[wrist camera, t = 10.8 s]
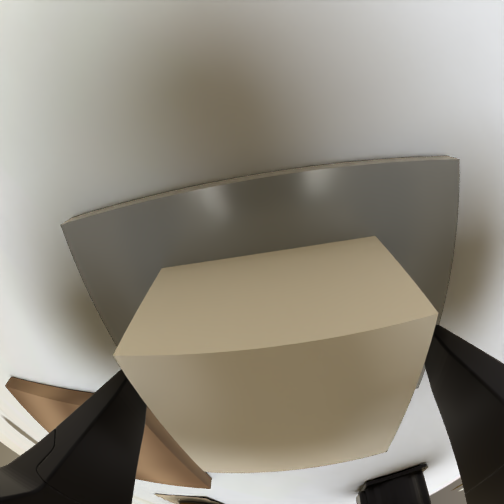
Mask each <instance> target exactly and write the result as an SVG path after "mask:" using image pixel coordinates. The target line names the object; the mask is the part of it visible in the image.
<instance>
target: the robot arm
mask: <svg viewBox="0 0 504 504" xmlns="http://www.w3.org/2000/svg"><path fill="white" fill-rule="evenodd" d="M424 365H425V368H426V371H427V375H428V378H429V382H430V386H431V389H432V392H433V395H434V398H435V400H436V403H437V406H438V408H439V411H440V414H441V416H442V419H443V422H444V425H445V427H446V430H447V433H448V436H449V439H450V442H451V445H452V449H453V452H454V455H455V458H456V462H457V465H458V469H459V472H460V476H461V479H462V484H463V488H464V492H465V497H466V501H467V504H504V364H503V363H502V362H500V361H498V360H497V359H495V358H493V357H492V356H490V355H489V354H487V353H485V352H484V351H482V350H480V349H479V348H477V347H475V346H474V345H472V344H470V343H469V342H467V341H465V340H464V339H462V338H460V337H458V336H457V335H455V334H453V333H452V332H450V331H448V330H447V329H445V328H443V327H441V326H440V325H435V329H434V333H433V336H432V340H431V343H430V347H429V350H428V353H427V356H426V359H425V363H424ZM146 410H147V405H146V404H145V402H144V401H143V399H142V398H141V397H140V395H139V394H138V393H137V391H136V390H135V388H134V387H133V385H132V384H131V383H130V381H129V380H128V378H127V377H126V375H125V374H124V372H123V371H122V369H121V370H120V371H119V372H118V373H117V374H115V375H114V376H113V377H112V378H111V379H110V380H109V381H108V382H106V383H105V384H104V385H103V386H102V387H101V388H100V389H99V390H97V391H96V392H95V393H94V394H93V395H92V396H91V397H90V398H88V399H87V400H86V401H85V402H84V403H83V404H82V405H81V406H79V407H78V408H77V409H76V410H75V411H74V412H73V413H72V414H70V415H69V416H68V417H67V418H66V419H65V420H64V421H63V422H61V423H60V424H59V425H58V426H57V427H56V429H53V430H52V431H51V432H50V433H49V434H48V435H47V436H45V437H44V438H43V439H42V440H41V441H40V442H38V443H37V444H36V445H34V446H33V447H32V448H30V449H29V450H28V451H26V452H25V453H24V454H22V455H21V456H19V457H18V458H17V459H15V460H14V461H12V462H11V463H9V464H8V465H6V466H3V467H0V504H132V497H133V491H134V484H135V478H136V472H137V466H138V460H139V455H140V449H141V444H142V439H143V434H144V428H145V421H146ZM427 467H428V466H427V463H426V464H423V465H420V466H417V467H415V468H412V469H409V470H406V471H403V472H400V473H397V474H394V475H390V476H387V477H384V478H380V479H376V480H373V481H369V482H367V483H365V484H364V486H363V488H362V489H361V491H360V493H359V494H358V496H357V497H356V501H357V504H431V501H430V497H429V493H428V489H427V486H426V482H425V478H424V475H423V471H424V470H425V469H426V468H427Z"/></svg>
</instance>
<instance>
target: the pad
mask: <svg viewBox="0 0 504 504" xmlns="http://www.w3.org/2000/svg"><path fill="white" fill-rule="evenodd" d="M458 203H459V159H457V158H454V157H450V156H427V157H406V158H390V159H376V160H364V161H353V162H344V163H334V164H325V165H317V166H309V167H302V168H294V169H287V170H281V171H274V172H268V173H261V174H255V175H249V176H244V177H238V178H233V179H227V180H222V181H217V182H212V183H207V184H202V185H197V186H192V187H187V188H183V189H178V190H174V191H170V192H165V193H161V194H157V195H153V196H148V197H144V198H140V199H136V200H133V201H129V202H125V203H121V204H117V205H114V206H110V207H107V208H103V209H100V210H96V211H93V212H89V213H86V214H82V215H79V216H76V217H73V218H70V219H69V220H67V221H65V222H64V223H62V224H61V227H62V230H63V233H64V235H65V238H66V241H67V243H68V246H69V249H70V251H71V254H72V256H73V259H74V261H75V263H76V266H77V268H78V270H79V273H80V275H81V277H82V280H83V282H84V284H85V286H86V288H87V290H88V293H89V295H90V297H91V299H92V301H93V303H94V305H95V307H96V309H97V311H98V313H99V315H100V317H101V319H102V321H103V322H104V324H105V326H106V328H107V330H108V332H109V333H110V335H111V337H112V339H113V341H114V342H115V344H116V346H117V347H118V345H119V343H120V341H121V339H122V337H123V335H124V333H125V332H126V330H127V328H128V326H129V324H130V322H131V321H132V319H133V317H134V315H135V313H136V312H137V310H138V308H139V306H140V305H141V303H142V301H143V299H144V298H145V296H146V294H147V292H148V291H149V289H150V287H151V286H152V284H153V282H154V280H155V279H156V277H157V275H158V274H159V272H160V270H161V269H162V268H166V267H173V266H180V265H187V264H193V263H200V262H207V261H213V260H220V259H227V258H233V257H240V256H246V255H253V254H260V253H266V252H273V251H279V250H286V249H293V248H299V247H306V246H312V245H319V244H325V243H332V242H338V241H345V240H352V239H358V238H365V237H371V236H376V237H377V238H378V239H379V241H380V242H381V243H382V244H383V245H384V246H385V247H386V249H387V250H388V251H389V252H390V253H391V254H392V255H393V257H394V258H395V259H396V260H397V261H398V263H399V264H400V265H401V266H402V267H403V269H404V270H405V271H406V272H407V273H408V275H409V276H410V277H411V278H412V280H413V281H414V282H415V283H416V285H417V286H418V287H419V288H420V290H421V291H422V292H423V293H424V295H425V296H426V297H427V299H428V300H429V301H430V303H431V304H432V305H433V306H434V308H435V309H436V311H437V312H438V317H437V321H436V325H439V323H440V319H441V315H442V311H443V307H444V302H445V298H446V293H447V289H448V283H449V278H450V273H451V267H452V260H453V254H454V246H455V238H456V229H457V218H458ZM425 369H426V368H425V365H424V366H423V368H422V371H421V374H420V377H419V380H418V383H417V385H416V388H415V389H417V388H418V387H419V385H420V382H421V380H422V377H423V374H424V371H425Z"/></svg>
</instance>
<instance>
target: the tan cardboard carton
mask: <svg viewBox="0 0 504 504" xmlns="http://www.w3.org/2000/svg"><path fill="white" fill-rule="evenodd" d="M437 317H438V312H437V311H436V309H435V308H434V306H433V305H432V304H431V303H430V301H429V300H428V299H427V297H426V296H425V295H424V293H423V292H422V291H421V290H420V288H419V287H418V286H417V285H416V283H415V282H414V281H413V280H412V278H411V277H410V276H409V275H408V273H407V272H406V271H405V270H404V269H403V267H402V266H401V265H400V264H399V263H398V261H397V260H396V259H395V258H394V257H393V255H392V254H391V253H390V252H389V251H388V250H387V249H386V247H385V246H384V245H383V244H382V243H381V242H380V241H379V239H378V238H377V237H376V236H371V237H365V238H358V239H352V240H345V241H338V242H332V243H325V244H319V245H312V246H306V247H299V248H293V249H286V250H279V251H273V252H266V253H260V254H253V255H246V256H240V257H233V258H227V259H220V260H213V261H207V262H200V263H193V264H187V265H180V266H173V267H166V268H162V269H161V270H160V272H159V274H158V275H157V277H156V279H155V280H154V282H153V284H152V286H151V287H150V289H149V291H148V292H147V294H146V296H145V298H144V299H143V301H142V303H141V305H140V306H139V308H138V310H137V312H136V313H135V315H134V317H133V319H132V321H131V322H130V324H129V326H128V328H127V330H126V332H125V333H124V335H123V337H122V339H121V341H120V343H119V345H118V347H117V348H116V350H115V352H114V354H113V356H114V358H115V360H116V361H117V363H118V364H119V366H120V367H121V369H122V371H123V372H124V374H125V375H126V377H127V378H128V380H129V381H130V383H131V384H132V385H133V387H134V388H135V390H136V391H137V393H138V394H139V395H140V397H141V398H142V399H143V401H144V402H145V404H146V405H147V406H148V408H149V409H150V410H151V411H152V413H153V414H154V415H155V417H156V418H157V419H158V420H159V422H160V423H161V424H162V425H163V427H164V428H165V429H166V430H167V431H168V433H169V434H170V435H171V436H172V437H173V439H174V440H175V441H176V442H177V443H178V444H179V446H180V447H181V448H182V449H183V450H184V451H185V452H186V453H187V454H188V455H189V457H190V458H191V459H192V460H193V461H194V462H195V463H196V464H197V465H198V466H199V467H200V468H201V469H202V470H203V471H204V472H212V473H257V472H275V471H287V470H297V469H305V468H312V467H319V466H325V465H331V464H337V463H342V462H347V461H352V460H356V459H361V458H365V457H369V456H373V455H377V454H380V453H384V452H387V450H388V448H389V446H390V444H391V442H392V440H393V438H394V436H395V434H396V432H397V430H398V428H399V426H400V424H401V421H402V419H403V417H404V415H405V412H406V410H407V408H408V405H409V403H410V401H411V398H412V396H413V393H414V391H415V388H416V385H417V383H418V380H419V377H420V374H421V371H422V368H423V366H424V363H425V359H426V356H427V353H428V350H429V347H430V343H431V340H432V336H433V333H434V329H435V325H436V321H437Z"/></svg>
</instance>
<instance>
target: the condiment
mask: <svg viewBox="0 0 504 504" xmlns="http://www.w3.org/2000/svg"><path fill="white" fill-rule="evenodd" d="M154 495H156V496H158V497H161V498H163V499H165V500H168V501H170V502H173V503H176V504H219V503H218V502H215V501H211V500H208V499H206V498H199V497H186V496H175V495H162V494H161V495H158V494H154ZM179 499H180V500H179Z"/></svg>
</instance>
